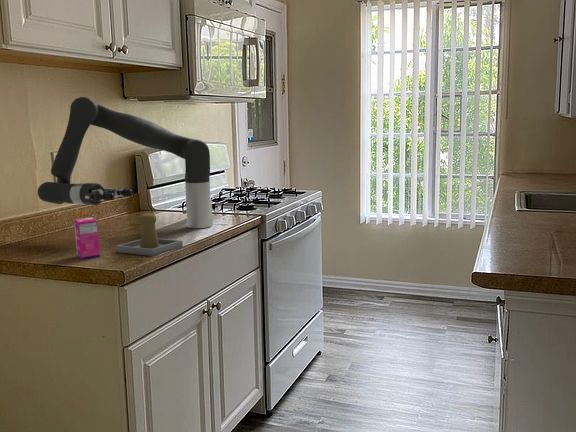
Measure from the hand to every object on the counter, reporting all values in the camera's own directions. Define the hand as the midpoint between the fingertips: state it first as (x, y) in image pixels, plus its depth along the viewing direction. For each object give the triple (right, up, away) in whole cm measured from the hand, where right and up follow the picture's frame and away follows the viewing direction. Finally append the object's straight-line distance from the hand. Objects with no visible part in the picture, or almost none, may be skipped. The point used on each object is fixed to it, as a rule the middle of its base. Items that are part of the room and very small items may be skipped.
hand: (122, 194), depth 196 cm
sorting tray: (+11, -18, -7) cm, 22 cm away
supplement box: (-6, -20, -15) cm, 25 cm away
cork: (+11, -17, -7) cm, 21 cm away
